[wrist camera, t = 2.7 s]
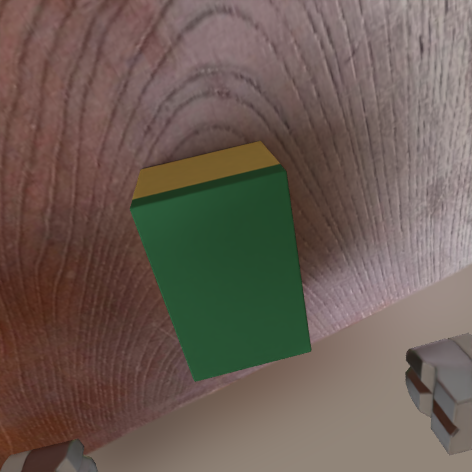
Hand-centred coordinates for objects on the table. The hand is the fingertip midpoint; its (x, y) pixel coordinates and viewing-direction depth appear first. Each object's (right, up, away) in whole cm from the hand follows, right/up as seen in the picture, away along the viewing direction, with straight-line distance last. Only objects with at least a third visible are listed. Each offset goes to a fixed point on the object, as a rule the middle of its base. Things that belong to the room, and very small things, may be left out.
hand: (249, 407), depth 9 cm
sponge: (-1, +4, +8) cm, 9 cm away
